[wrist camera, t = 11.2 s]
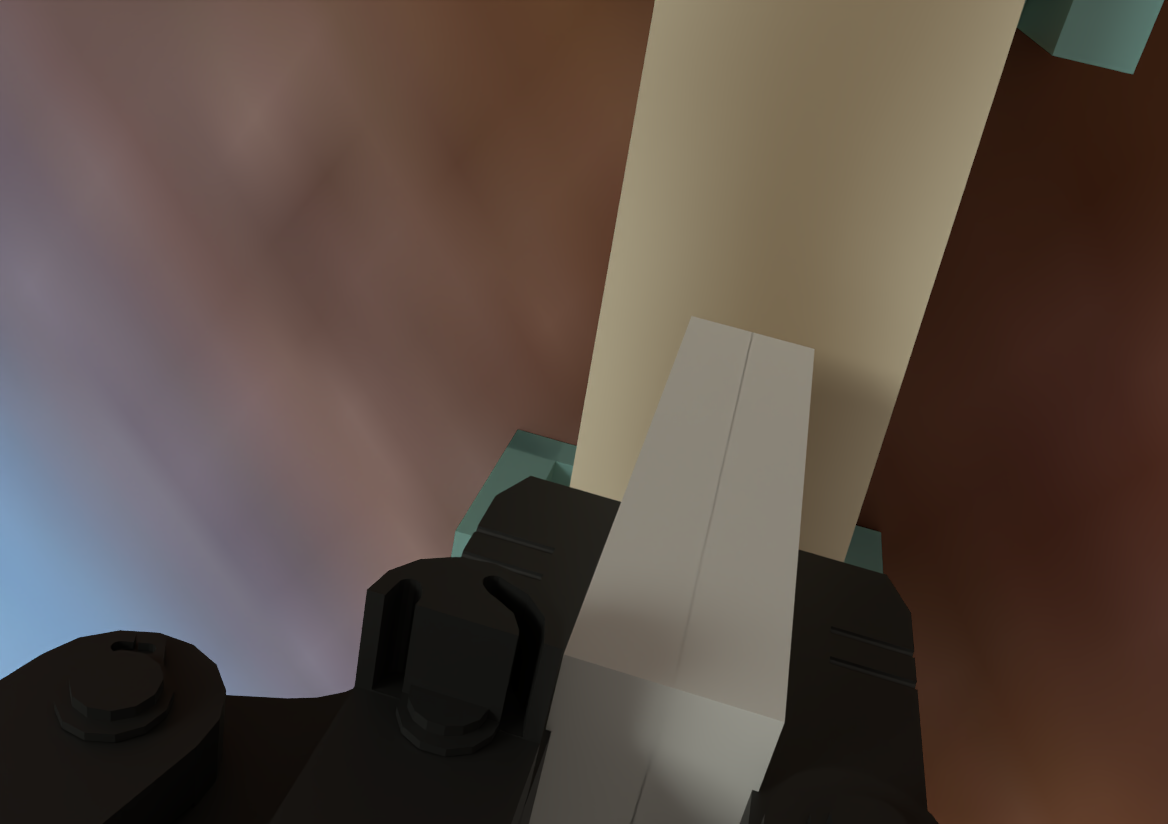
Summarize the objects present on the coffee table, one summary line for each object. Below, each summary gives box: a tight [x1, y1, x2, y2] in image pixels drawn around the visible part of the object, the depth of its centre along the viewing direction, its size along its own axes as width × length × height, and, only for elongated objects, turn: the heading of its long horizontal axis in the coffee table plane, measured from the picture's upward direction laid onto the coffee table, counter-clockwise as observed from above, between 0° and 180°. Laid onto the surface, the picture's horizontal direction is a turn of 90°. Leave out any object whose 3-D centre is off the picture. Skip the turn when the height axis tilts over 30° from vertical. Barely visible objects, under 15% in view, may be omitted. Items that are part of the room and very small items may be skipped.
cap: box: [451, 430, 883, 574], centre depth 21 cm, size 8×6×4 cm
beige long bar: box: [570, 0, 1025, 562], centre depth 17 cm, size 4×16×5 cm, turn 171°
